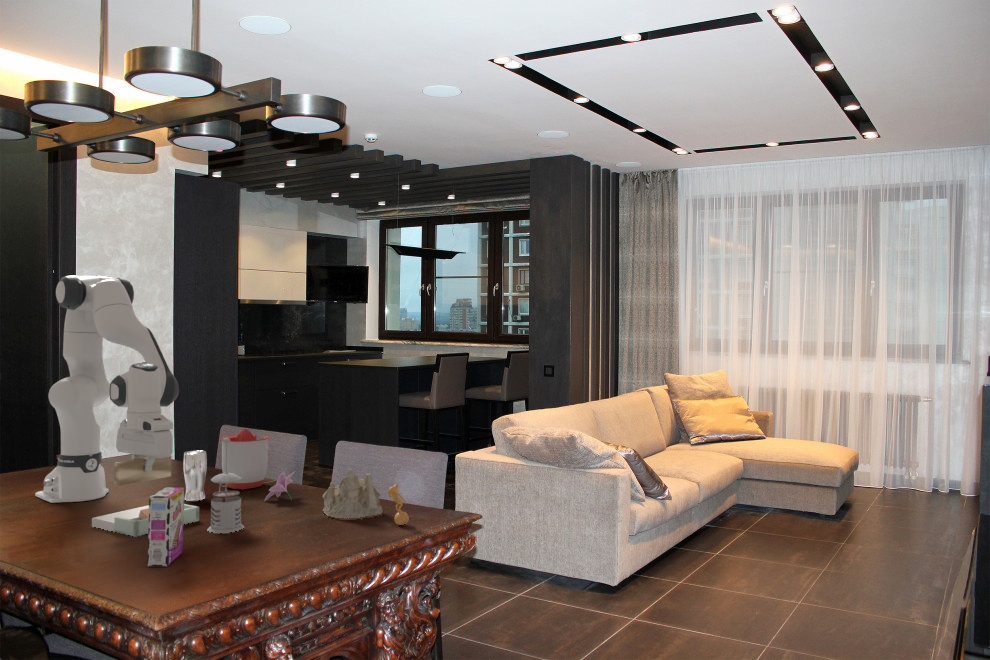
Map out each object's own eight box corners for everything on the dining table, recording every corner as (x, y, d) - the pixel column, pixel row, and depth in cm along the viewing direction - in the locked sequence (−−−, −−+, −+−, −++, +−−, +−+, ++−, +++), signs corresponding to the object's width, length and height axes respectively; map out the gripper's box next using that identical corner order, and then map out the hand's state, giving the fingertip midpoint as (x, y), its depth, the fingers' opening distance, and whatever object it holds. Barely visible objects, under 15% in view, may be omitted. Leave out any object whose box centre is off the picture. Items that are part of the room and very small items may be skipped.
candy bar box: (169, 567, 178) (169, 496, 178) (146, 567, 178) (147, 496, 178) (184, 552, 190) (185, 486, 189) (163, 553, 189) (164, 486, 189)
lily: (298, 498, 254) (285, 472, 254) (312, 490, 245) (298, 463, 246) (266, 515, 245) (253, 488, 246) (280, 507, 237) (266, 480, 238)
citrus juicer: (281, 484, 269) (282, 427, 269) (241, 493, 255) (241, 433, 255) (251, 479, 278) (252, 423, 278) (210, 487, 263) (211, 429, 263)
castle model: (388, 515, 228) (386, 464, 228) (336, 525, 219) (333, 472, 219) (367, 507, 241) (364, 459, 241) (316, 516, 232) (314, 466, 232)
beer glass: (198, 502, 242) (198, 454, 242) (178, 501, 243) (178, 453, 243) (210, 497, 249) (211, 451, 248) (191, 496, 250) (191, 450, 250)
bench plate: (91, 526, 212) (91, 517, 212) (155, 511, 229) (156, 503, 229) (114, 532, 207) (114, 523, 207) (178, 516, 224) (178, 507, 224)
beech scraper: (114, 484, 210) (114, 462, 210) (165, 475, 224) (165, 454, 224) (119, 485, 209) (120, 463, 209) (170, 476, 223) (171, 455, 222)
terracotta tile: (138, 516, 213) (140, 510, 213) (154, 512, 218) (156, 506, 217) (149, 526, 211) (151, 519, 211) (164, 522, 215) (166, 516, 215)
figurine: (415, 527, 215) (416, 484, 215) (397, 531, 211) (397, 487, 211) (399, 521, 222) (400, 479, 222) (381, 524, 218) (382, 482, 218)
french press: (209, 535, 205) (210, 441, 205) (203, 524, 216) (204, 435, 215) (247, 531, 210) (248, 439, 210) (240, 520, 220) (241, 433, 220)
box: (114, 532, 207) (114, 517, 207) (178, 516, 224) (178, 502, 224) (135, 537, 202) (135, 522, 202) (199, 520, 220) (199, 506, 220)
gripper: (110, 419, 218) (109, 468, 219) (157, 425, 208) (156, 477, 208) (130, 417, 224) (130, 465, 224) (177, 423, 214) (176, 473, 214)
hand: (143, 470), depth 216 cm, fingers closed on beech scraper, 2 cm apart
